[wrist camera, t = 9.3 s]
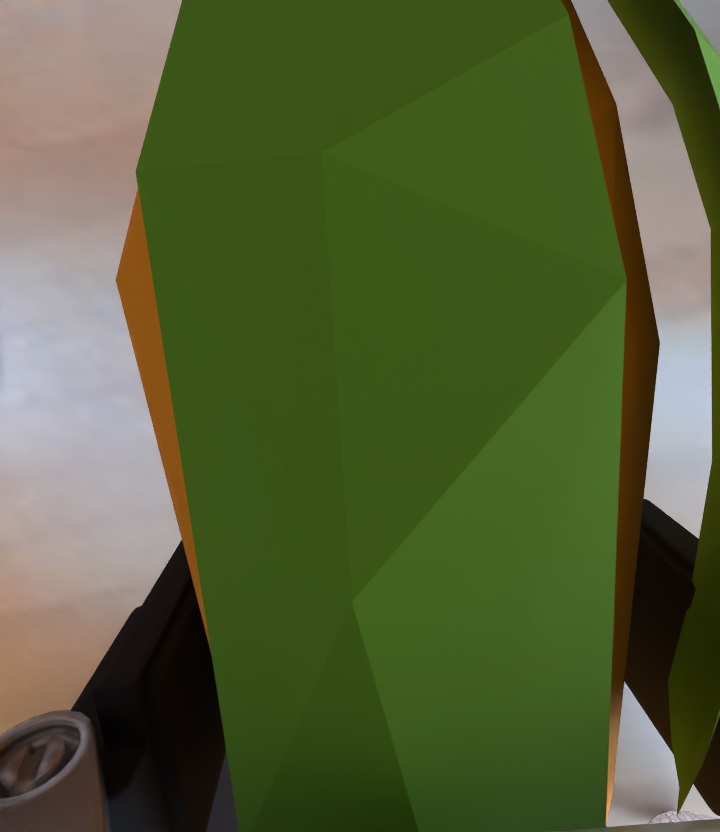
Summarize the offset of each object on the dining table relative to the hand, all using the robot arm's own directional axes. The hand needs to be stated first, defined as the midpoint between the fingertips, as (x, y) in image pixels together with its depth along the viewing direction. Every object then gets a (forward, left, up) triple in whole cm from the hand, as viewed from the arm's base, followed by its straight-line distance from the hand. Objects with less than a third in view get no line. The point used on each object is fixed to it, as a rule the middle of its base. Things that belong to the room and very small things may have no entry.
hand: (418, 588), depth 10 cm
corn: (0, 0, -2) cm, 2 cm away
